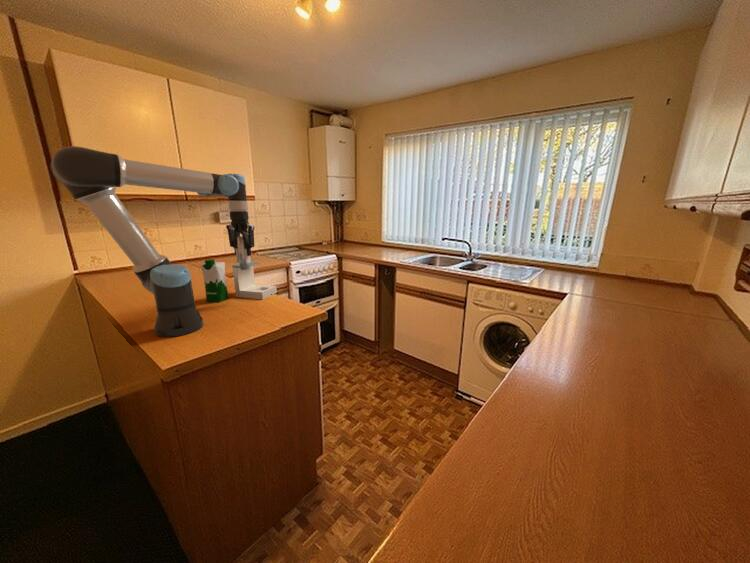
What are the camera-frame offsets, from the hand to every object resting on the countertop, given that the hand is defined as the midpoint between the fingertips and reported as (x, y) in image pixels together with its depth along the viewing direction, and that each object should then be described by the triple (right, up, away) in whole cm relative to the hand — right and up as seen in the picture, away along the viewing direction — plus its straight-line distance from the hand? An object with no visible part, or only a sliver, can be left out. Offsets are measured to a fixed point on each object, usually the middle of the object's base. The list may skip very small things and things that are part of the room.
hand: (243, 262), depth 138 cm
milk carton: (-16, -18, +7) cm, 25 cm away
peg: (0, -3, +1) cm, 3 cm away
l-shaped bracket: (0, -16, +15) cm, 22 cm away
